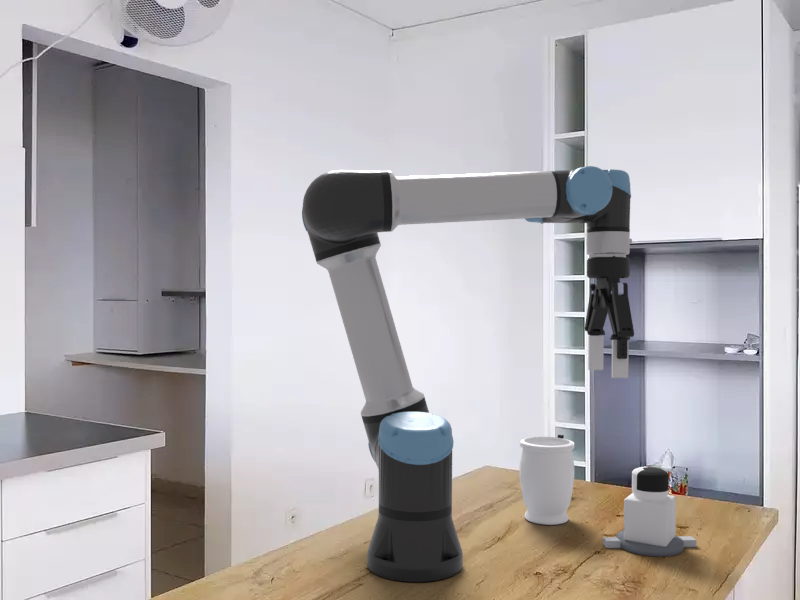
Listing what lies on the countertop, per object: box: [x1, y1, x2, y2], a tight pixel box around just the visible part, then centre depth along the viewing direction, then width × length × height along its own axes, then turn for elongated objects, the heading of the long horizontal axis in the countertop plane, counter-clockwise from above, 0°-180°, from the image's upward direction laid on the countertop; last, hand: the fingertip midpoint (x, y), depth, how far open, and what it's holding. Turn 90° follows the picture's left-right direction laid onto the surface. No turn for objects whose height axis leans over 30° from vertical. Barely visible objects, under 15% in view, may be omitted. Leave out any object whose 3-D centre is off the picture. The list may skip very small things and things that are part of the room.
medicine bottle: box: [623, 466, 677, 547], centre depth 132 cm, size 7×7×12 cm
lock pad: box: [602, 530, 697, 557], centre depth 134 cm, size 16×13×1 cm
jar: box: [518, 436, 575, 526], centre depth 148 cm, size 11×10×15 cm
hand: (607, 373), depth 140 cm, fingers open, 13 cm apart
